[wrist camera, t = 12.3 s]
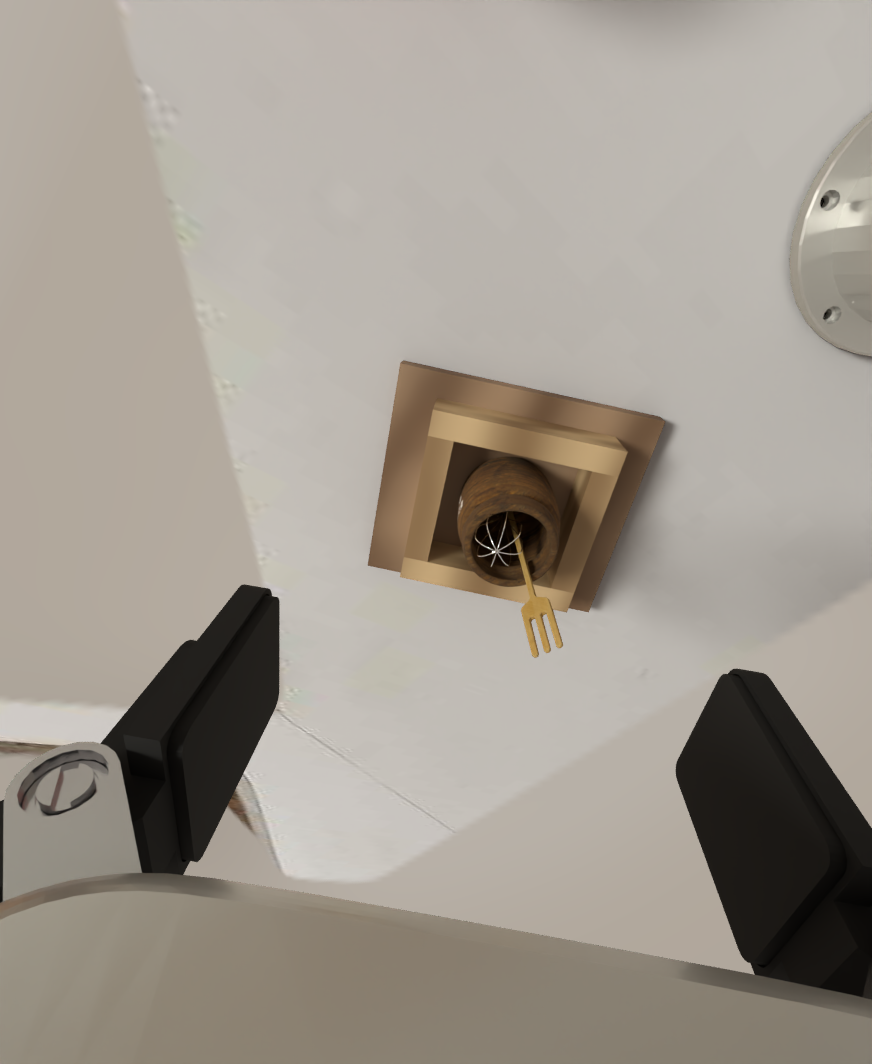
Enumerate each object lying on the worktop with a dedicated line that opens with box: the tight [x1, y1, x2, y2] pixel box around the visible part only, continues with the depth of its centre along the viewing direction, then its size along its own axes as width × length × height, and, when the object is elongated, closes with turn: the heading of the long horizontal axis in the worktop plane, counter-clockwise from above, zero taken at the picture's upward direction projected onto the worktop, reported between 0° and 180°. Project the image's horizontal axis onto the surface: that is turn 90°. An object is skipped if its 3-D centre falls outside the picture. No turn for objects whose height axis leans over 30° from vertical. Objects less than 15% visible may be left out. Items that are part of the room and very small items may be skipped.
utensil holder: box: [457, 457, 563, 658], centre depth 29 cm, size 6×6×12 cm
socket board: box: [368, 361, 665, 612], centre depth 33 cm, size 16×14×4 cm
